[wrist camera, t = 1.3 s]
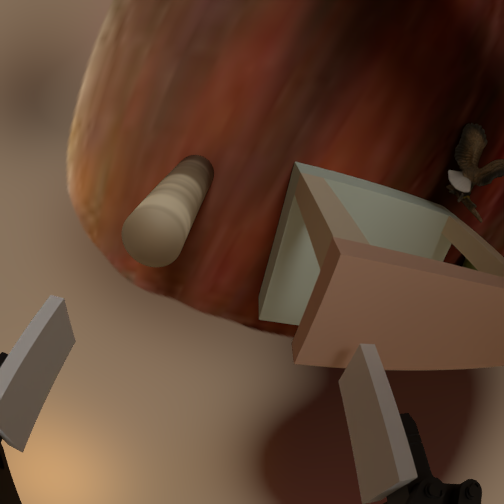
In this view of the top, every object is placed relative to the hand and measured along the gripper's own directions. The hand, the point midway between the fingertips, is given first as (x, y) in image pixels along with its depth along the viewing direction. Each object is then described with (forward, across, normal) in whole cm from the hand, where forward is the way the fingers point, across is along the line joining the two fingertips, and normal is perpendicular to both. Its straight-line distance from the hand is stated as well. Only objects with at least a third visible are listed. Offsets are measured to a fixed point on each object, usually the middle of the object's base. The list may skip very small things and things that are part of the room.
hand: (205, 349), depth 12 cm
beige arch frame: (+16, +14, +1) cm, 21 cm away
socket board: (+20, +14, -4) cm, 24 cm away
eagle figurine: (+20, +24, +10) cm, 33 cm away
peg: (+20, -4, +2) cm, 20 cm away
